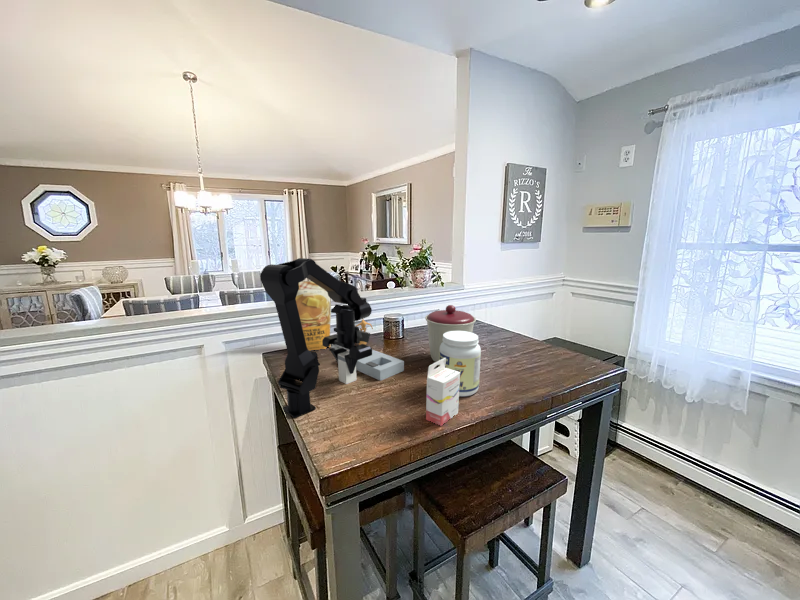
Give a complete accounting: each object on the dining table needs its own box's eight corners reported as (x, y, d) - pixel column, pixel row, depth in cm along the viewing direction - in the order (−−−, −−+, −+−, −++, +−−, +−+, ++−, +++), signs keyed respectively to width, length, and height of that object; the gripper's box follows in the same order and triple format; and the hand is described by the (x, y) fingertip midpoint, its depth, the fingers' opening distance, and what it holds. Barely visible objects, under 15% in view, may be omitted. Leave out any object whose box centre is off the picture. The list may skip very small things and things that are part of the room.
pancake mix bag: (285, 349, 135) (279, 281, 129) (332, 343, 141) (329, 278, 136) (285, 354, 129) (280, 283, 123) (334, 348, 135) (331, 281, 130)
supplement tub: (431, 391, 100) (432, 337, 96) (448, 376, 110) (450, 327, 106) (469, 402, 93) (472, 345, 90) (484, 385, 103) (487, 333, 99)
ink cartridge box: (442, 427, 81) (443, 371, 78) (425, 420, 84) (426, 366, 81) (459, 412, 88) (461, 360, 85) (443, 406, 91) (444, 356, 88)
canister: (419, 367, 117) (420, 309, 113) (430, 350, 134) (431, 298, 129) (471, 373, 112) (474, 313, 107) (475, 354, 129) (478, 301, 124)
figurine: (371, 343, 142) (370, 316, 140) (374, 347, 137) (374, 319, 134) (351, 345, 140) (351, 317, 137) (354, 350, 134) (353, 321, 131)
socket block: (403, 370, 114) (404, 360, 113) (380, 380, 106) (380, 369, 106) (362, 354, 129) (362, 345, 128) (339, 362, 121) (339, 352, 121)
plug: (356, 380, 107) (355, 353, 105) (346, 384, 104) (345, 357, 102) (348, 376, 110) (347, 350, 108) (338, 380, 107) (337, 354, 105)
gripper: (385, 325, 102) (385, 372, 106) (348, 314, 115) (349, 357, 118) (356, 333, 95) (358, 383, 98) (320, 321, 107) (322, 366, 110)
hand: (347, 371), depth 106 cm, fingers open, 4 cm apart
